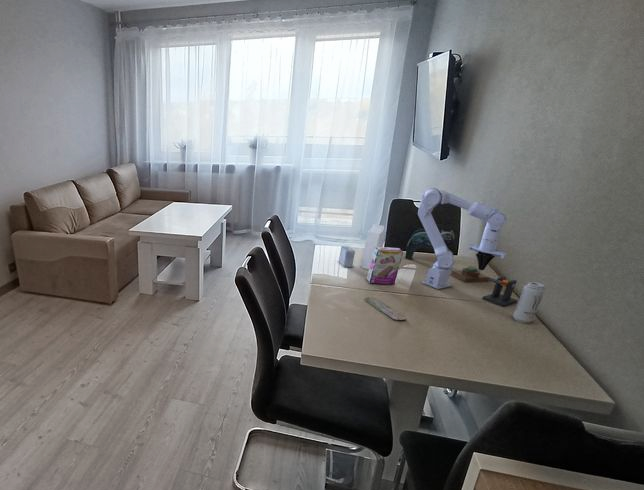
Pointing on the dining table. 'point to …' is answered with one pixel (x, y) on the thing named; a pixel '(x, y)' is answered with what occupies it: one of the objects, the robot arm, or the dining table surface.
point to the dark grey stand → (500, 298)
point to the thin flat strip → (384, 308)
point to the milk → (372, 243)
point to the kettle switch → (503, 282)
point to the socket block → (470, 276)
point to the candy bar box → (384, 265)
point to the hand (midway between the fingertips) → (481, 269)
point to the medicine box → (346, 256)
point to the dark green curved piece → (426, 242)
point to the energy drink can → (529, 302)
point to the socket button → (471, 269)
